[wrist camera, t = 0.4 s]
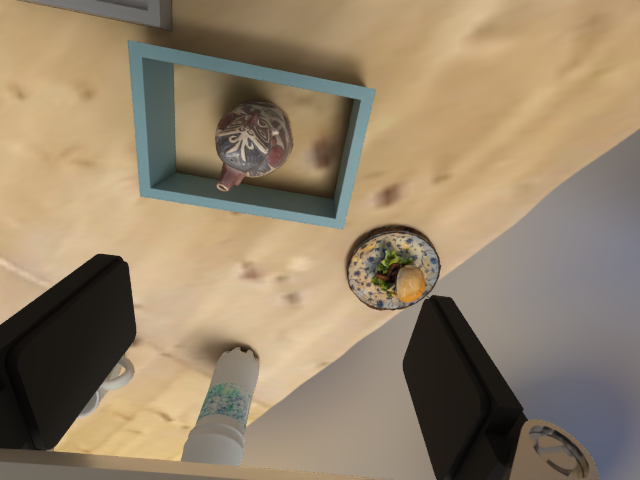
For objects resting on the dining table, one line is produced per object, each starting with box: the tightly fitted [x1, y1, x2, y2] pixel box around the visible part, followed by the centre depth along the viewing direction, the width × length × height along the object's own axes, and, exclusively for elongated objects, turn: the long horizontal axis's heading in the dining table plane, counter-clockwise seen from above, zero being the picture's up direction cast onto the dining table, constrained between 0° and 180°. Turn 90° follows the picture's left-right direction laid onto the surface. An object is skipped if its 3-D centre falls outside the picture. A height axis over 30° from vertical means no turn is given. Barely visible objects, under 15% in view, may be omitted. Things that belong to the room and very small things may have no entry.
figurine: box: [215, 101, 293, 191], centre depth 28 cm, size 7×7×12 cm
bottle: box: [181, 347, 259, 466], centre depth 39 cm, size 7×7×20 cm
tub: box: [128, 40, 376, 229], centre depth 31 cm, size 13×20×6 cm, turn 80°
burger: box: [347, 226, 441, 311], centre depth 38 cm, size 12×12×8 cm
